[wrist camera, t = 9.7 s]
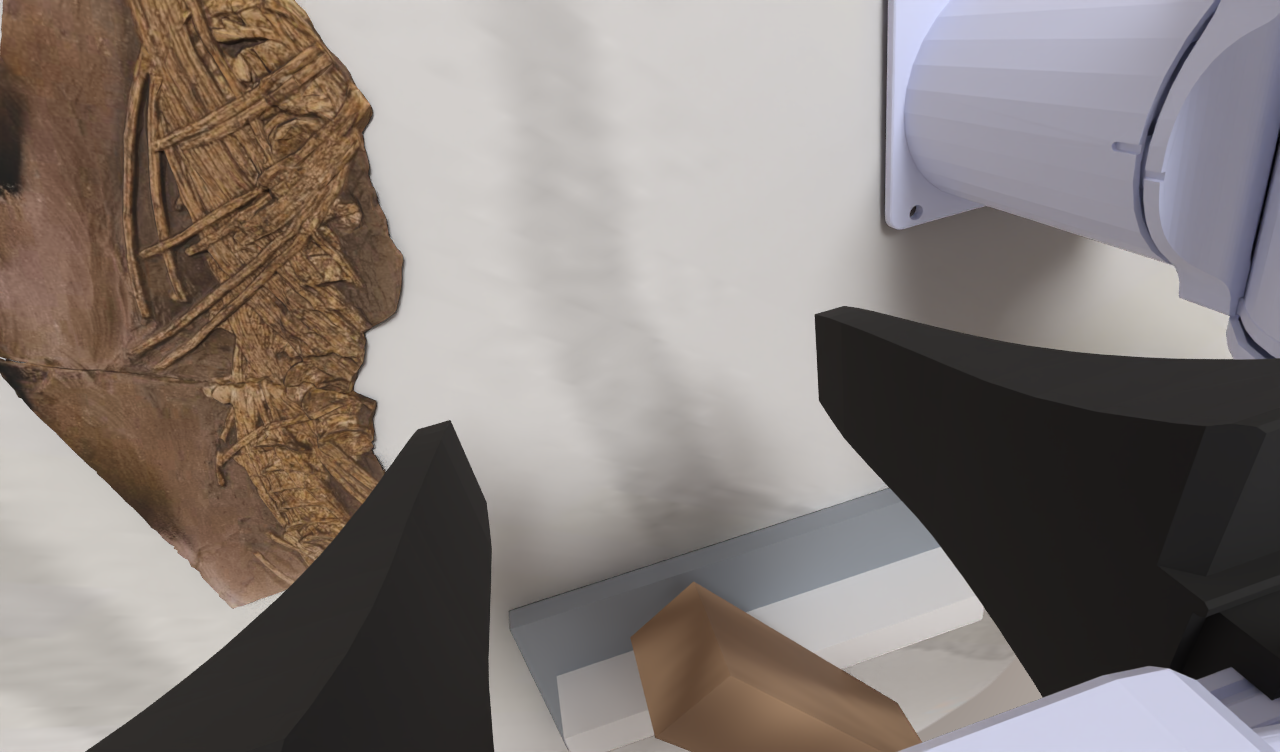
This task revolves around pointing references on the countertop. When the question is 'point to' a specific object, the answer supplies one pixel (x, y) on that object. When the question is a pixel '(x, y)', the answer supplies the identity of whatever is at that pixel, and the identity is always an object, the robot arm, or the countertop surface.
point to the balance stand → (747, 608)
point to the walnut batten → (753, 687)
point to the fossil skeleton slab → (195, 269)
